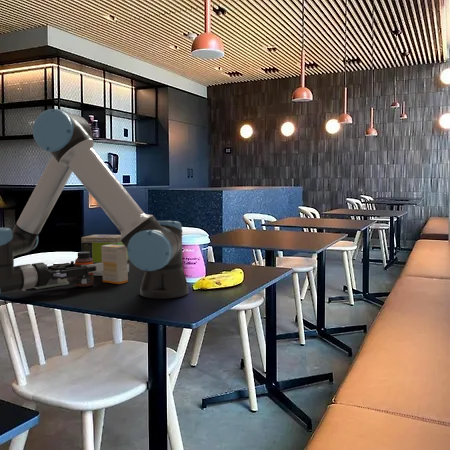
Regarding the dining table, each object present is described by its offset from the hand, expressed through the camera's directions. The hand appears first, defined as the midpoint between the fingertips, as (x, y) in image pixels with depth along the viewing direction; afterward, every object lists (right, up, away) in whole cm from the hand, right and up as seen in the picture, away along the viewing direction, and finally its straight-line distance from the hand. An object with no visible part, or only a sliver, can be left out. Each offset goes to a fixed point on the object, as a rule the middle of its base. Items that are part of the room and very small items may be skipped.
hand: (97, 265), depth 171 cm
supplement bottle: (-3, -7, -3) cm, 8 cm away
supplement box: (+5, -6, +4) cm, 9 cm away
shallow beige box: (-18, -7, +1) cm, 19 cm away
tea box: (-1, -5, +19) cm, 19 cm away
